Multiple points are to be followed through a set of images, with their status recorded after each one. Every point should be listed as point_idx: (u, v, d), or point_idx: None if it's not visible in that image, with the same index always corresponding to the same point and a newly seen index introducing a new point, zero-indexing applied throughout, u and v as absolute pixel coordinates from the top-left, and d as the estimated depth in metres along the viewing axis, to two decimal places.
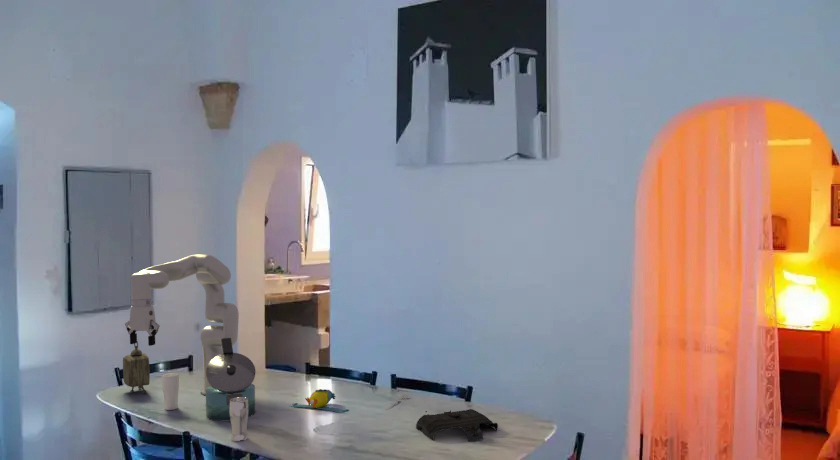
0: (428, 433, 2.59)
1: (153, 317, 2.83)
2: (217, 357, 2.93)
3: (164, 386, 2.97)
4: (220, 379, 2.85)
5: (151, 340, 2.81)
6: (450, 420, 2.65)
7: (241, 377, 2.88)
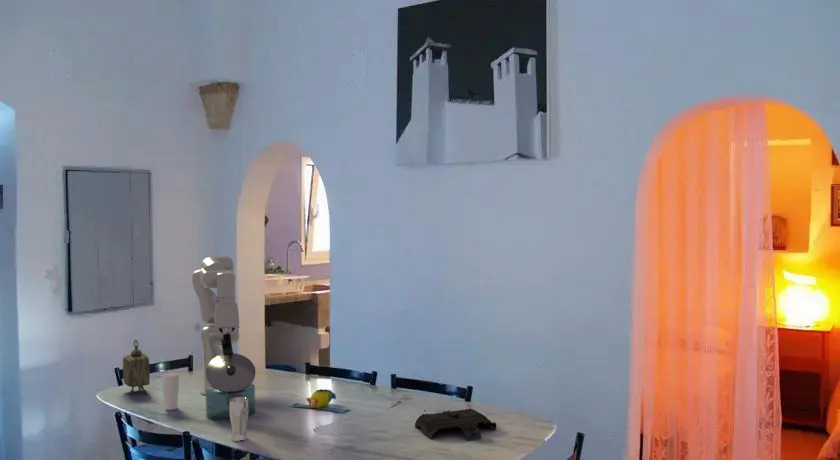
0: (426, 432, 2.60)
1: (214, 315, 2.95)
2: (217, 358, 2.93)
3: (164, 386, 2.97)
4: (220, 379, 2.85)
5: None
6: (449, 419, 2.66)
7: (241, 377, 2.88)
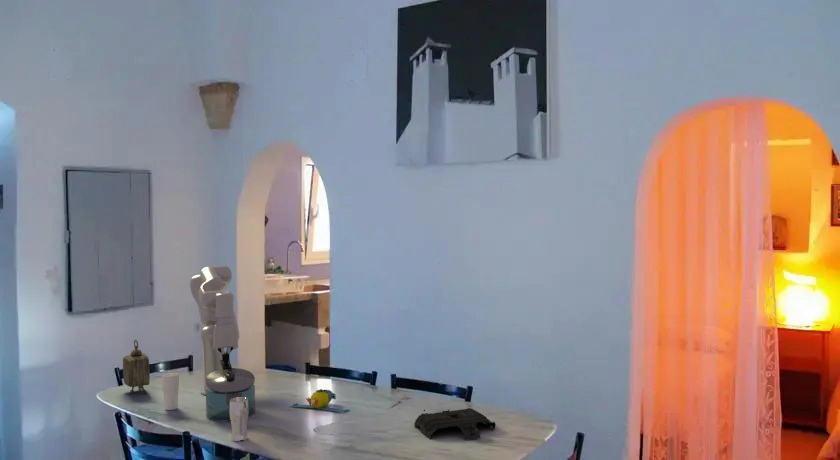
0: (426, 432, 2.61)
1: (213, 335, 3.00)
2: (216, 371, 2.97)
3: (164, 386, 2.97)
4: (219, 384, 2.86)
5: None
6: (448, 419, 2.66)
7: (241, 382, 2.90)
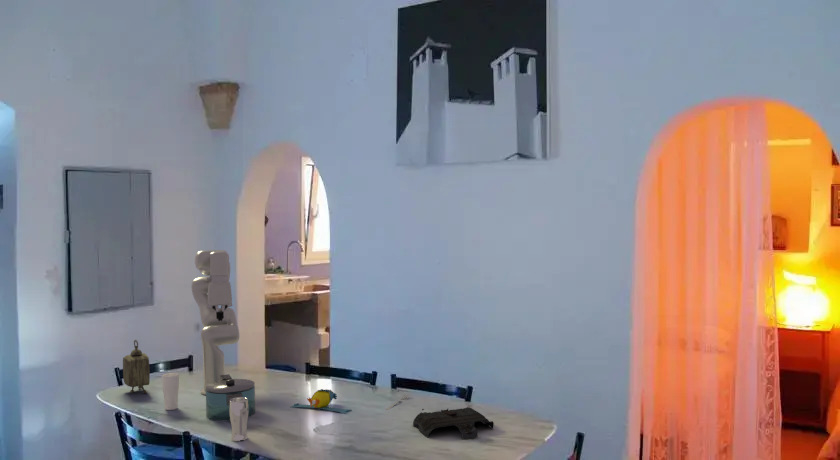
0: (424, 431, 2.62)
1: (208, 293, 3.04)
2: (216, 381, 2.98)
3: (164, 386, 2.97)
4: (219, 387, 2.87)
5: None
6: (446, 418, 2.67)
7: (241, 385, 2.90)
